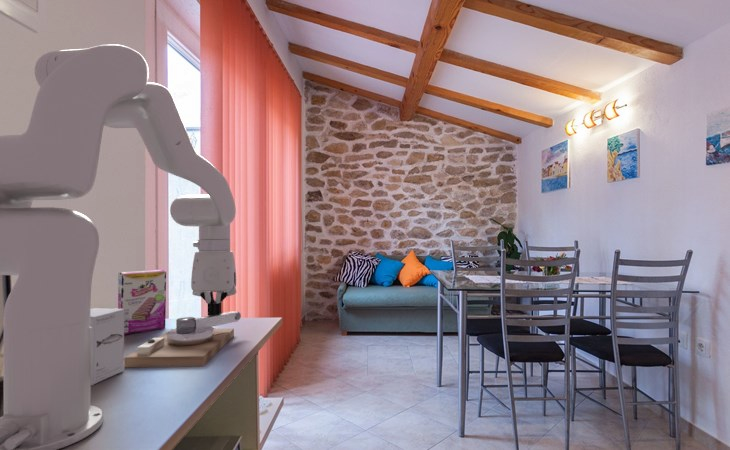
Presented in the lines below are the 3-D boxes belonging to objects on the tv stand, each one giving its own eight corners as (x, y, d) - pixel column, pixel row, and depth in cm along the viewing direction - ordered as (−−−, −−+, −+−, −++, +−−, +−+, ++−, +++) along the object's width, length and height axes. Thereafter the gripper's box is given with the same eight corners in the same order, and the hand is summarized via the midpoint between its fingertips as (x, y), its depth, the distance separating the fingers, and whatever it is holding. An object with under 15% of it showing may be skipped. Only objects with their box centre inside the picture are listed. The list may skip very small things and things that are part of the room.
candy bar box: (121, 336, 104) (121, 273, 104) (117, 332, 108) (117, 272, 108) (166, 328, 112) (166, 270, 112) (161, 325, 115) (161, 269, 115)
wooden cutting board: (203, 365, 82) (203, 345, 82) (124, 367, 81) (124, 346, 81) (233, 336, 104) (233, 319, 104) (171, 336, 103) (171, 320, 103)
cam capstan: (178, 348, 86) (178, 325, 86) (160, 339, 93) (160, 318, 93) (250, 331, 100) (250, 312, 100) (230, 325, 106) (230, 306, 106)
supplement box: (93, 386, 72) (93, 316, 72) (59, 383, 73) (59, 314, 73) (125, 371, 79) (125, 308, 79) (94, 368, 80) (94, 306, 80)
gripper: (178, 247, 97) (178, 322, 96) (240, 246, 97) (240, 321, 97) (190, 245, 104) (190, 315, 104) (248, 245, 105) (247, 314, 105)
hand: (214, 318), depth 101 cm, fingers closed
